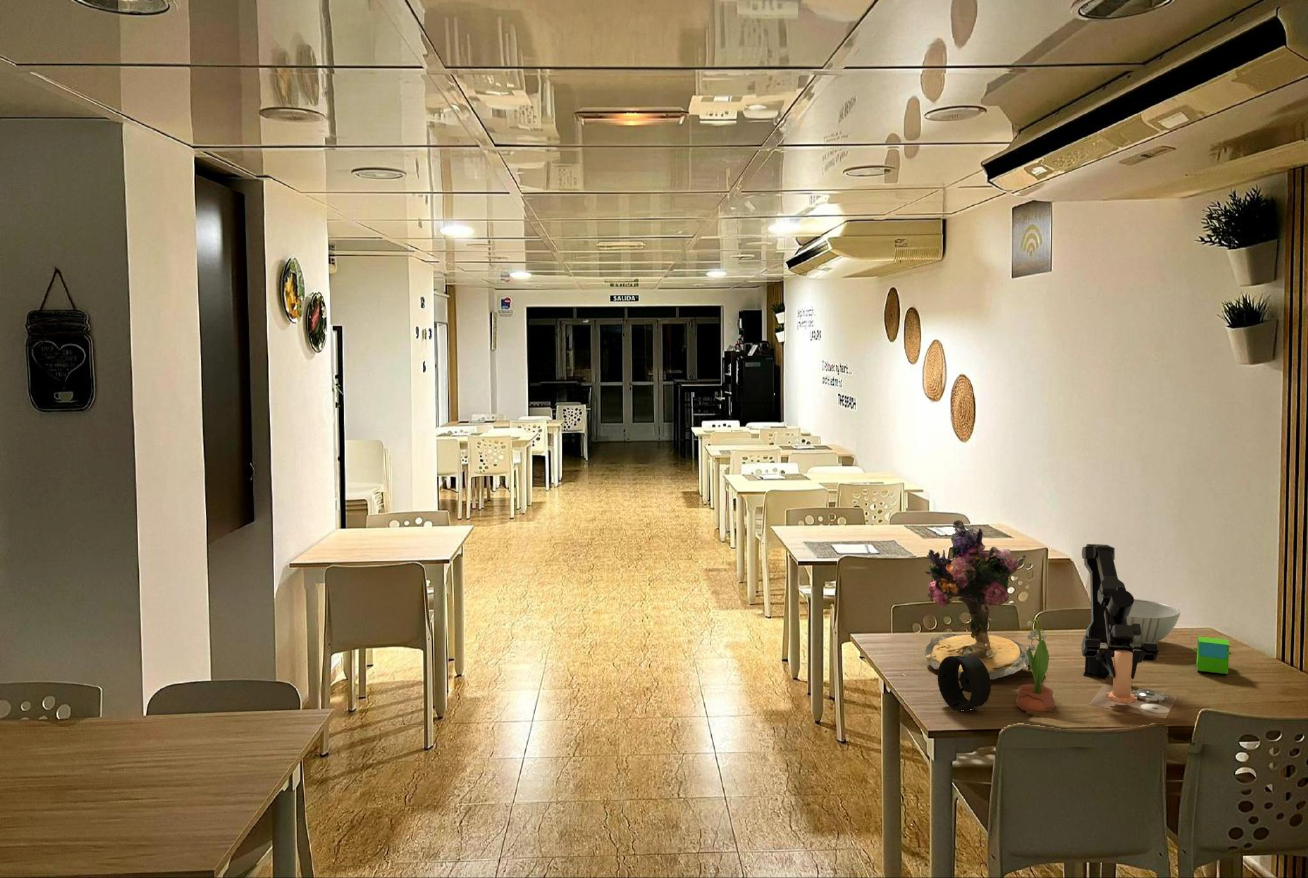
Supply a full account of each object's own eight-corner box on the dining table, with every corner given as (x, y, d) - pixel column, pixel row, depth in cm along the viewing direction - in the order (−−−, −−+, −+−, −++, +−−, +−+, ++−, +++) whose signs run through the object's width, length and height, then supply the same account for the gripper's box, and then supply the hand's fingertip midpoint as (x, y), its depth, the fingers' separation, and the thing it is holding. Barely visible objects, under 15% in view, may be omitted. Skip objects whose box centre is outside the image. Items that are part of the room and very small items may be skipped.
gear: (1129, 699, 296) (1130, 693, 295) (1135, 691, 303) (1135, 684, 303) (1164, 705, 291) (1165, 699, 291) (1169, 696, 298) (1170, 690, 298)
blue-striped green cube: (1228, 666, 333) (1230, 634, 332) (1231, 678, 321) (1233, 645, 320) (1192, 662, 337) (1193, 630, 336) (1193, 673, 325) (1195, 641, 324)
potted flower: (1006, 701, 297) (1010, 612, 295) (1041, 701, 298) (1045, 612, 296) (1025, 716, 285) (1029, 624, 283) (1061, 716, 286) (1065, 623, 284)
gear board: (1088, 709, 291) (1088, 703, 291) (1103, 689, 309) (1104, 683, 309) (1165, 724, 281) (1165, 717, 281) (1176, 702, 298) (1177, 695, 298)
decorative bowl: (1143, 659, 339) (1145, 621, 338) (1072, 638, 362) (1073, 603, 361) (1195, 647, 353) (1197, 611, 352) (1123, 628, 376) (1125, 594, 375)
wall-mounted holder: (1003, 660, 286) (973, 664, 282) (1001, 713, 288) (971, 718, 284) (967, 646, 300) (938, 649, 296) (965, 697, 301) (936, 701, 297)
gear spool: (1103, 700, 289) (1105, 653, 287) (1108, 693, 295) (1111, 646, 294) (1134, 706, 285) (1136, 658, 283) (1138, 698, 291) (1141, 651, 290)
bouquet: (882, 666, 316) (902, 516, 326) (949, 683, 348) (966, 546, 358) (990, 682, 294) (1009, 521, 304) (1051, 699, 326) (1066, 553, 336)
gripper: (1085, 609, 293) (1091, 660, 284) (1159, 613, 289) (1167, 665, 280) (1079, 630, 302) (1084, 680, 292) (1151, 634, 298) (1158, 686, 288)
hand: (1123, 677), depth 288 cm, fingers closed on gear spool, 4 cm apart
